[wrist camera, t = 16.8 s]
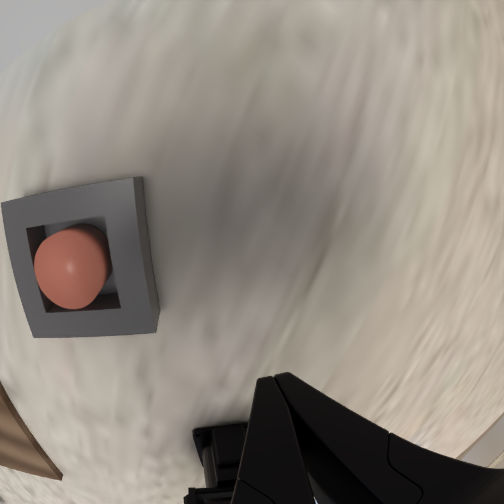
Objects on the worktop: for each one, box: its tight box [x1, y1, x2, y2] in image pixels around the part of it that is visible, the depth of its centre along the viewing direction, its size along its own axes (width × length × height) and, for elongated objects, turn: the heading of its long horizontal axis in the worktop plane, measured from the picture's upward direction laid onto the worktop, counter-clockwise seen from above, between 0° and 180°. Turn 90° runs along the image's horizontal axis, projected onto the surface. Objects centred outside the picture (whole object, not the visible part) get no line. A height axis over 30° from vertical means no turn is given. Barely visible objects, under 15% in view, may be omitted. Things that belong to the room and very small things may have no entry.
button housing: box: [1, 177, 160, 338], centre depth 16 cm, size 9×9×3 cm
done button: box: [34, 223, 113, 309], centre depth 15 cm, size 4×4×3 cm
